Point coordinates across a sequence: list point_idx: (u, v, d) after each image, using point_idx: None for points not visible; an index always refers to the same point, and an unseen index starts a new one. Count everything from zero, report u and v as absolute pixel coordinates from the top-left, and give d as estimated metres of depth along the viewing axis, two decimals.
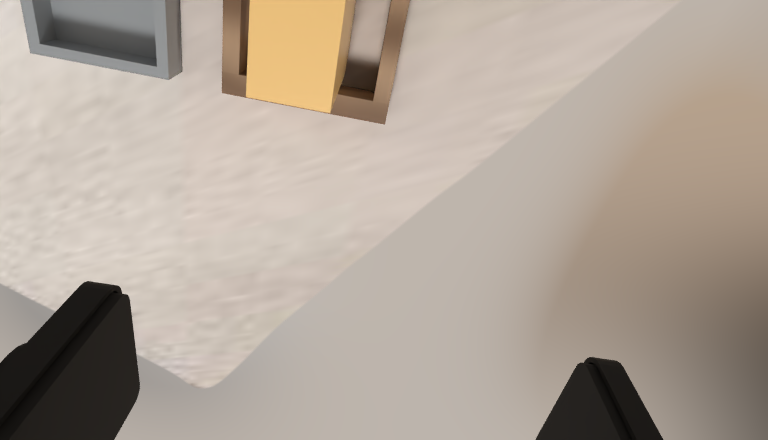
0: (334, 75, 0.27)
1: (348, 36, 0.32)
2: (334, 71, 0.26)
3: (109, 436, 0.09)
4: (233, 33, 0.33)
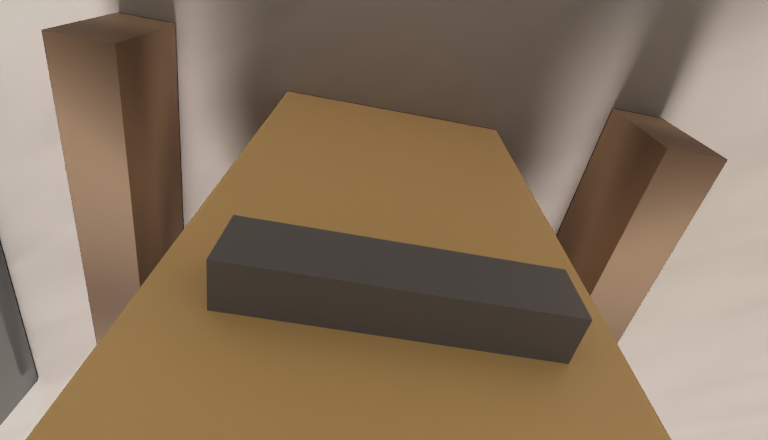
0: None
1: None
2: None
3: None
4: None
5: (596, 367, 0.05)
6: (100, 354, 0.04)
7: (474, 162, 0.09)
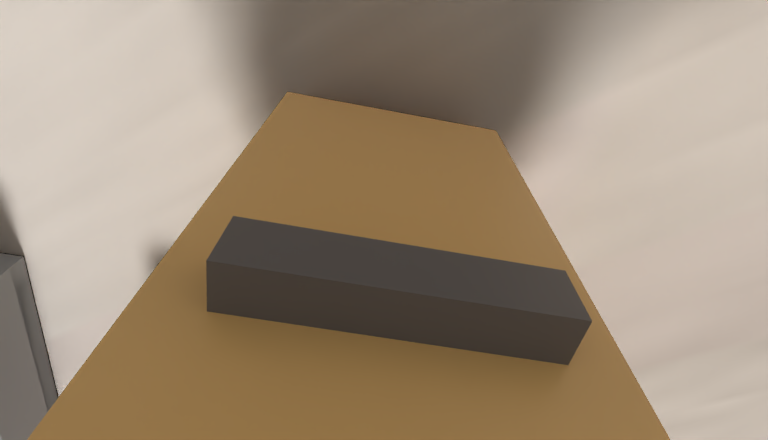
0: None
1: None
2: None
3: None
4: None
5: (596, 368, 0.05)
6: (100, 355, 0.04)
7: (474, 163, 0.09)
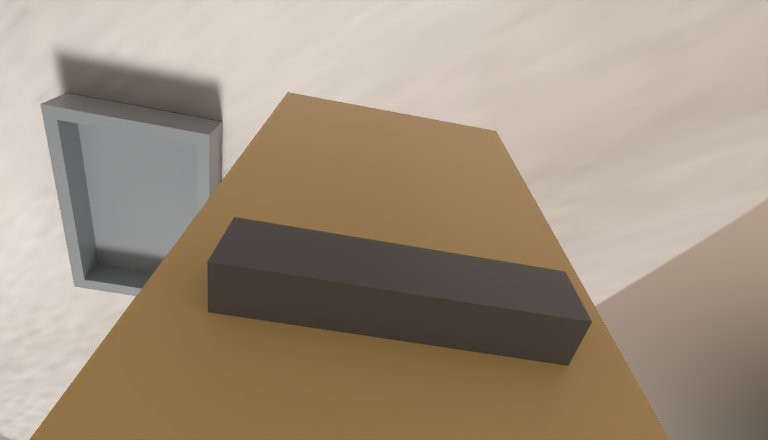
0: None
1: None
2: None
3: None
4: None
5: (596, 369, 0.05)
6: (101, 356, 0.04)
7: (473, 163, 0.09)
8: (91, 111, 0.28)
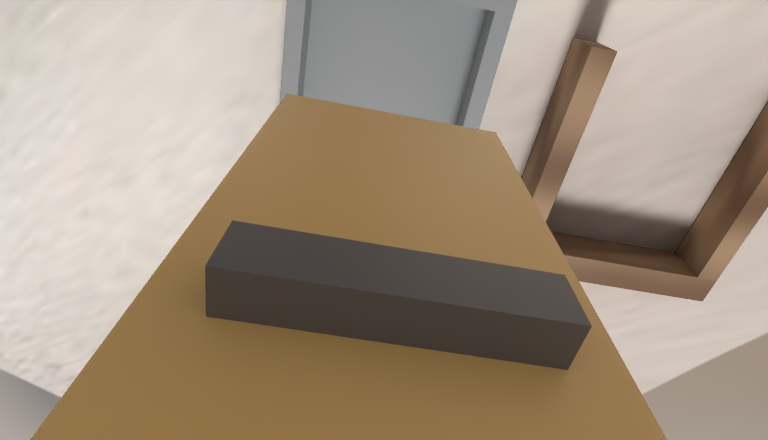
0: None
1: None
2: None
3: None
4: (543, 206, 0.25)
5: (595, 373, 0.05)
6: (98, 361, 0.04)
7: (474, 165, 0.09)
8: None
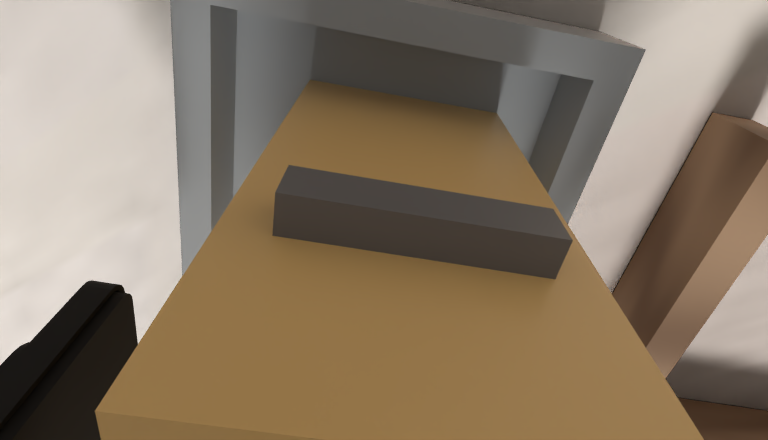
0: None
1: None
2: None
3: None
4: None
5: (577, 282, 0.06)
6: (196, 262, 0.05)
7: (478, 138, 0.10)
8: None
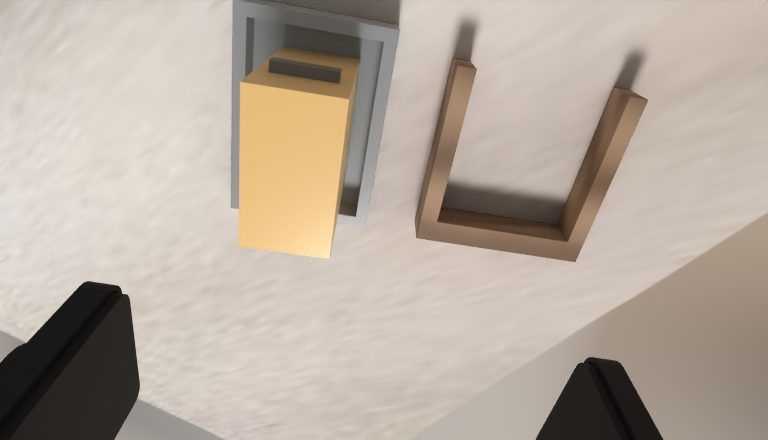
0: (332, 223, 0.25)
1: (346, 157, 0.31)
2: (332, 220, 0.25)
3: (109, 436, 0.09)
4: (439, 186, 0.33)
5: (345, 84, 0.24)
6: (251, 74, 0.23)
7: (343, 63, 0.28)
8: (281, 7, 0.27)
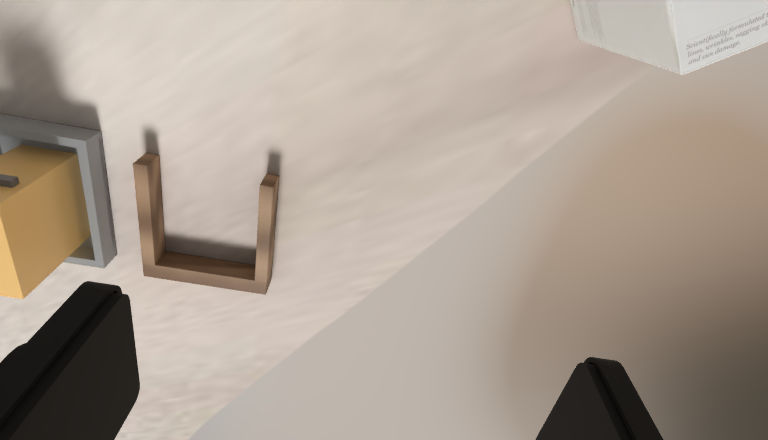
0: (17, 277, 0.38)
1: (69, 222, 0.43)
2: (15, 275, 0.37)
3: (109, 436, 0.09)
4: (148, 241, 0.45)
5: (16, 188, 0.36)
6: None
7: (50, 162, 0.41)
8: (2, 125, 0.40)
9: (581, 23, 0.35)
